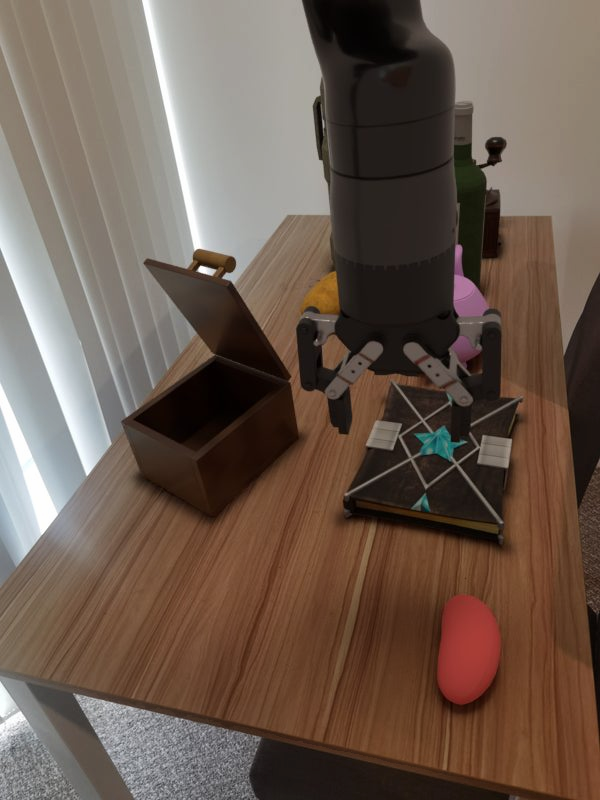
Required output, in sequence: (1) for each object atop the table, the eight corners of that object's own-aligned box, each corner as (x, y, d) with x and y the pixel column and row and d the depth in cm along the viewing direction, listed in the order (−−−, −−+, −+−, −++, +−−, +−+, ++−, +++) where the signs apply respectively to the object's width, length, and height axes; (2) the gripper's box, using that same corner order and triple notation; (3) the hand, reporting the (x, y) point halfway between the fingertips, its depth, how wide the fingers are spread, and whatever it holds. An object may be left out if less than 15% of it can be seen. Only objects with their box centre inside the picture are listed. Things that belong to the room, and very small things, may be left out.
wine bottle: (422, 291, 105) (423, 105, 87) (457, 276, 108) (465, 94, 90) (454, 307, 99) (462, 112, 81) (489, 292, 102) (504, 100, 84)
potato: (368, 299, 105) (366, 263, 101) (335, 340, 96) (331, 302, 92) (329, 294, 108) (325, 259, 104) (293, 332, 99) (287, 295, 95)
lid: (226, 286, 59) (254, 250, 60) (142, 263, 66) (169, 230, 68) (288, 381, 72) (309, 349, 74) (212, 353, 79) (233, 325, 81)
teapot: (414, 311, 100) (413, 240, 92) (502, 320, 95) (509, 245, 87) (377, 379, 86) (373, 302, 78) (478, 394, 81) (485, 313, 73)
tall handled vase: (376, 282, 110) (366, 67, 89) (318, 275, 115) (296, 70, 94) (393, 261, 116) (388, 56, 95) (338, 255, 121) (321, 59, 100)
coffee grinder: (501, 258, 111) (510, 158, 101) (440, 258, 114) (442, 161, 103) (499, 225, 123) (507, 132, 112) (444, 226, 126) (447, 136, 115)
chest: (213, 517, 69) (196, 460, 63) (141, 475, 76) (120, 421, 70) (299, 438, 78) (290, 382, 72) (228, 407, 85) (215, 354, 80)
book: (390, 400, 82) (389, 370, 79) (520, 416, 76) (524, 385, 73) (343, 518, 66) (339, 486, 63) (502, 550, 60) (507, 517, 57)
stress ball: (517, 647, 54) (501, 583, 53) (499, 718, 46) (481, 644, 45) (460, 644, 56) (444, 583, 56) (434, 711, 49) (416, 642, 48)
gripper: (267, 262, 36) (300, 457, 46) (516, 259, 32) (495, 473, 42) (297, 214, 42) (321, 397, 52) (513, 207, 38) (495, 407, 48)
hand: (399, 431), depth 47 cm, fingers open, 8 cm apart
